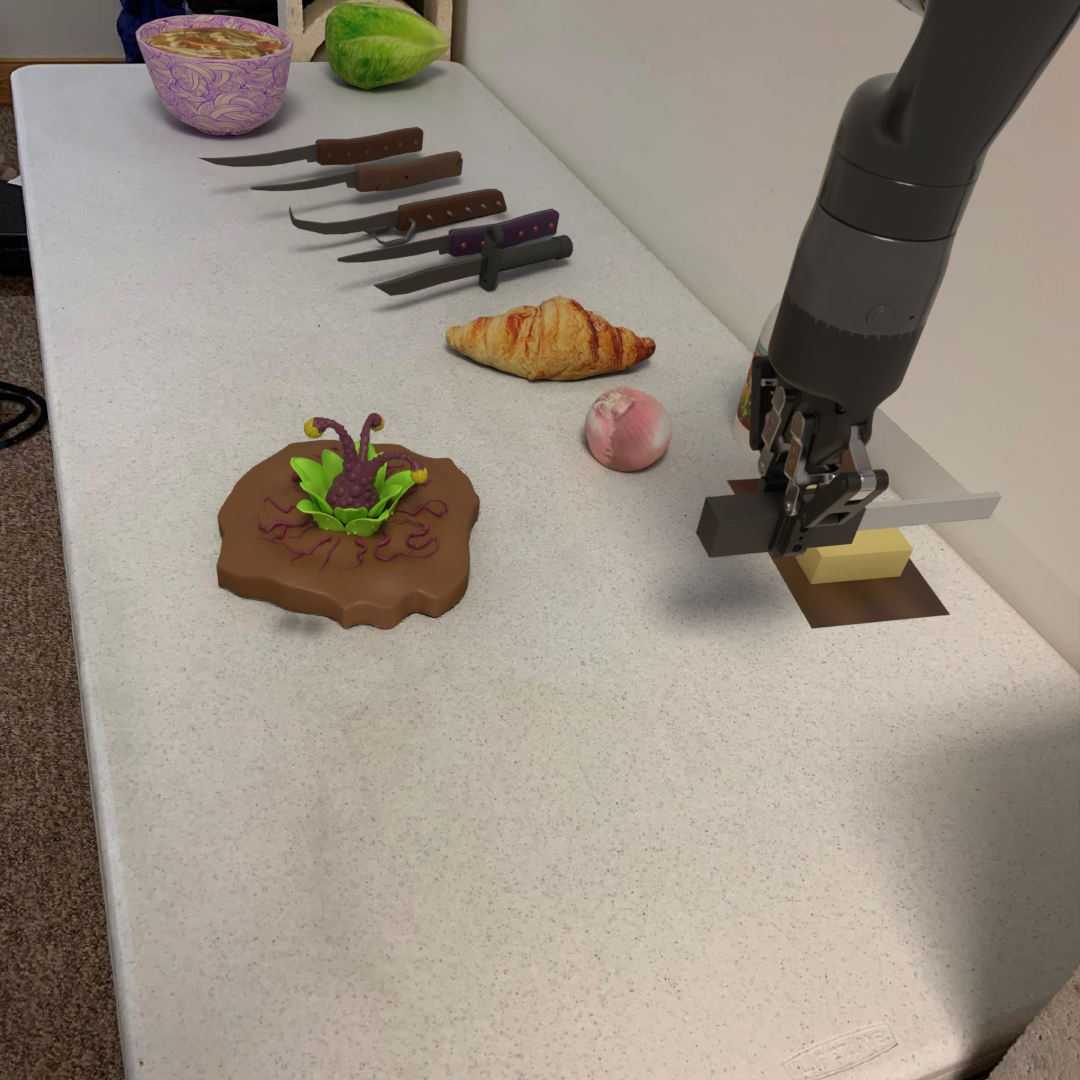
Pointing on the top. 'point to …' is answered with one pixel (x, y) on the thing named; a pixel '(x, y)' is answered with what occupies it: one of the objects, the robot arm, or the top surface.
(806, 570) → the butter block
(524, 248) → the knife set
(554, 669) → the top surface
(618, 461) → the onion
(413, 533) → the plant
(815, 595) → the butter board
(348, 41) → the lettuce
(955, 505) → the butter knife
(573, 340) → the croissant
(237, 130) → the bowl of food
